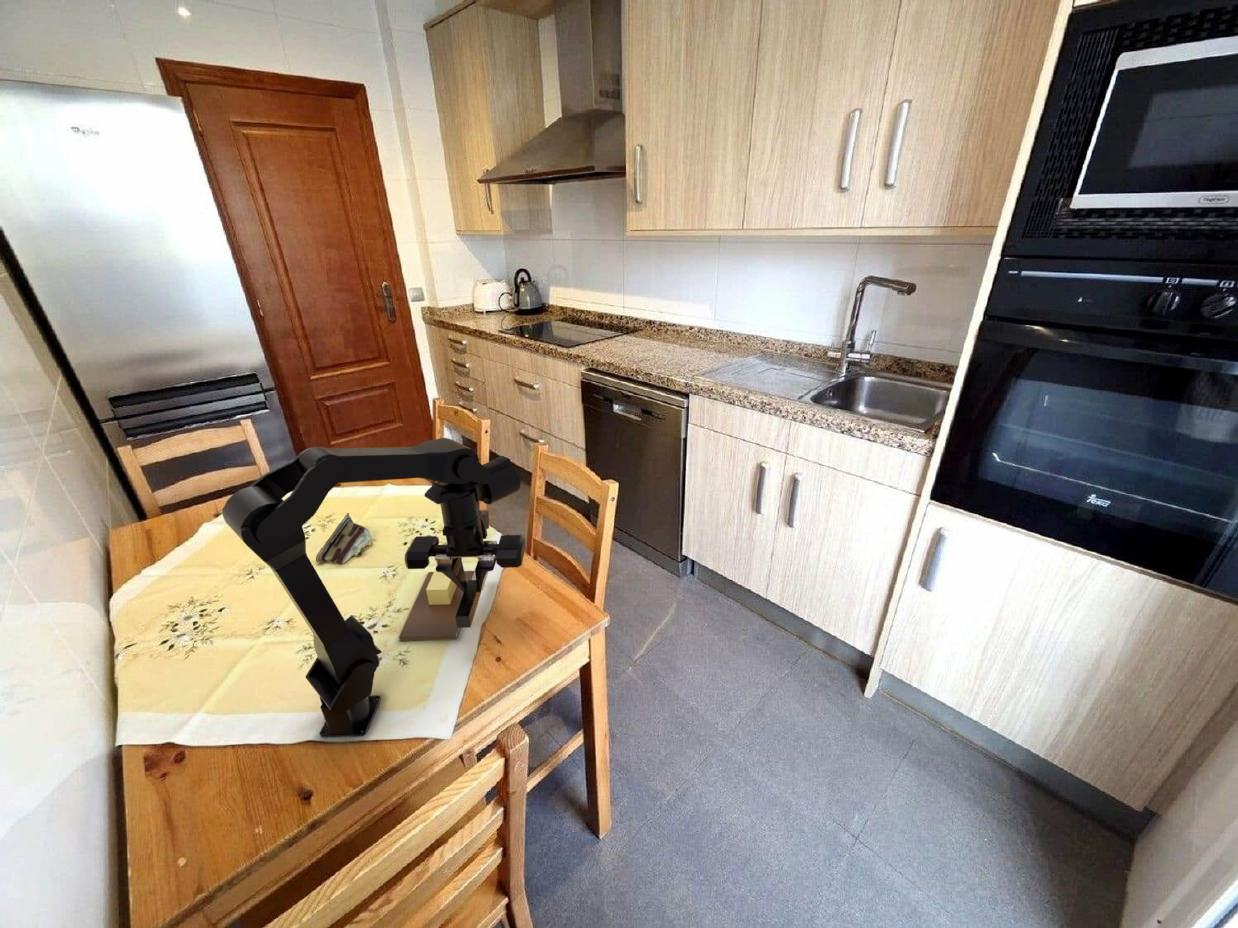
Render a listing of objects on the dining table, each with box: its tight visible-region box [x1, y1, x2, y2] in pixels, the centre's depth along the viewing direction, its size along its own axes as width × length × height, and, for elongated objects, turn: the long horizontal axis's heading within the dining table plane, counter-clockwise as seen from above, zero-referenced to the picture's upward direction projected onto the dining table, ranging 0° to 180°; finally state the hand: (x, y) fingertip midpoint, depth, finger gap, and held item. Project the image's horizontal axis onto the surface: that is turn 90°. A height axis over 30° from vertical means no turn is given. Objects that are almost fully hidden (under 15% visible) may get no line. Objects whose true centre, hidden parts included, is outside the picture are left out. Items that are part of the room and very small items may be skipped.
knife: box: [455, 571, 489, 629], centre depth 90 cm, size 21×2×2 cm, turn 2°
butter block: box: [427, 582, 457, 605], centre depth 98 cm, size 6×4×2 cm, turn 3°
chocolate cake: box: [315, 512, 373, 565], centre depth 112 cm, size 10×7×12 cm
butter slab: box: [426, 569, 453, 595], centre depth 97 cm, size 6×4×1 cm, turn 3°
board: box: [398, 570, 475, 642], centre depth 97 cm, size 18×10×1 cm, turn 3°
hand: (473, 590), depth 87 cm, fingers closed on knife, 2 cm apart
